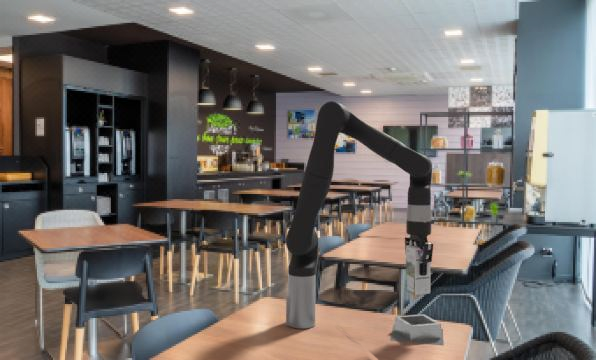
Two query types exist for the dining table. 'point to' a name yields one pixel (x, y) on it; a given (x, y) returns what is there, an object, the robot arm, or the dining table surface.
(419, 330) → the metal sleeve
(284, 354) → the dining table surface
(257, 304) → the dining table surface
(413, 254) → the syrup box
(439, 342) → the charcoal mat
